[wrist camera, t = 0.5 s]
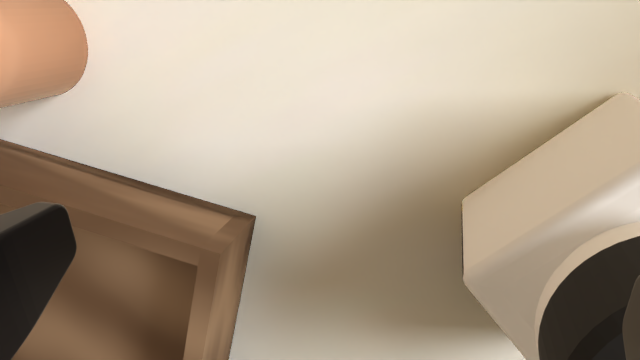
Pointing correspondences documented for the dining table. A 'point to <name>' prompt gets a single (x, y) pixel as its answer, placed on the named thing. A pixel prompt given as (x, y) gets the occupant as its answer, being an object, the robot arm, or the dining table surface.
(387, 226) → the dining table surface
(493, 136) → the dining table surface
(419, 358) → the dining table surface
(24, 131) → the dining table surface
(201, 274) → the tray
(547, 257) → the medicine bottle
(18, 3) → the canister
